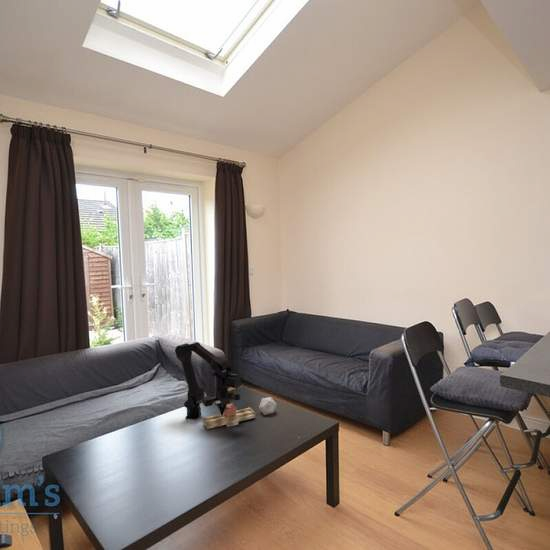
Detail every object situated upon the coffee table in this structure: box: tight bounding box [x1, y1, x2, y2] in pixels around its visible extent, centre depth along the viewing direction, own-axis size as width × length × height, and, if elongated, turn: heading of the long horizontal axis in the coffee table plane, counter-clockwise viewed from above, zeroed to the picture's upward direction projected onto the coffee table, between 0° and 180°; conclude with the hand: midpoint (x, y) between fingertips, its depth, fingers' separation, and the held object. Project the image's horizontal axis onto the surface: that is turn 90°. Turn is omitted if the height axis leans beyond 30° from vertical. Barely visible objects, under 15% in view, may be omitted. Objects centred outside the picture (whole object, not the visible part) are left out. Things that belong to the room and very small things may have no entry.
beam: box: [202, 406, 256, 430], centre depth 187 cm, size 26×10×4 cm, turn 117°
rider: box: [223, 402, 238, 418], centre depth 187 cm, size 5×6×5 cm
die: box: [258, 396, 277, 416], centre depth 196 cm, size 8×9×10 cm
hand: (221, 414), depth 184 cm, fingers closed
